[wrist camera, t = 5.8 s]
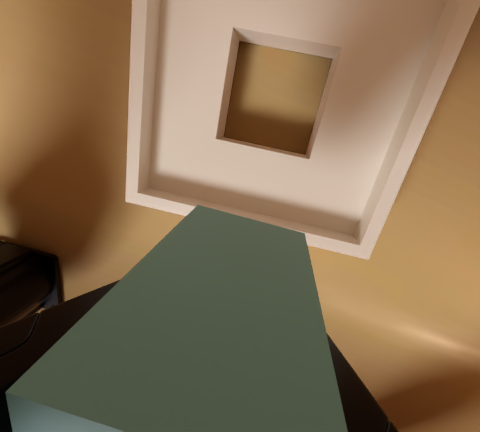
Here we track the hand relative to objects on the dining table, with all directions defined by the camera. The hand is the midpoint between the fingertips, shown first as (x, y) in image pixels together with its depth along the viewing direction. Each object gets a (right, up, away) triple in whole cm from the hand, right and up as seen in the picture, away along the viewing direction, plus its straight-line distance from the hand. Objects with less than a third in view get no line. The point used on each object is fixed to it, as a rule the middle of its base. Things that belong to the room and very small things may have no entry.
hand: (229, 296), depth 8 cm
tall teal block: (0, +1, +2) cm, 2 cm away
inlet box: (+3, +10, +9) cm, 14 cm away
